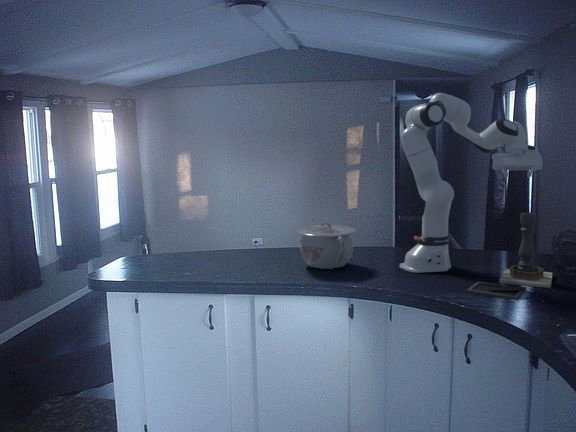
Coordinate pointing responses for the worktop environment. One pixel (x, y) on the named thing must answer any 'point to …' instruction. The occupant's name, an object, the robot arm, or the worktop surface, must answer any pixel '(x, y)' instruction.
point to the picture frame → (497, 290)
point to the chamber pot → (326, 245)
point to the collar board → (526, 277)
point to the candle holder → (527, 242)
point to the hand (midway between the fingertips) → (517, 176)
